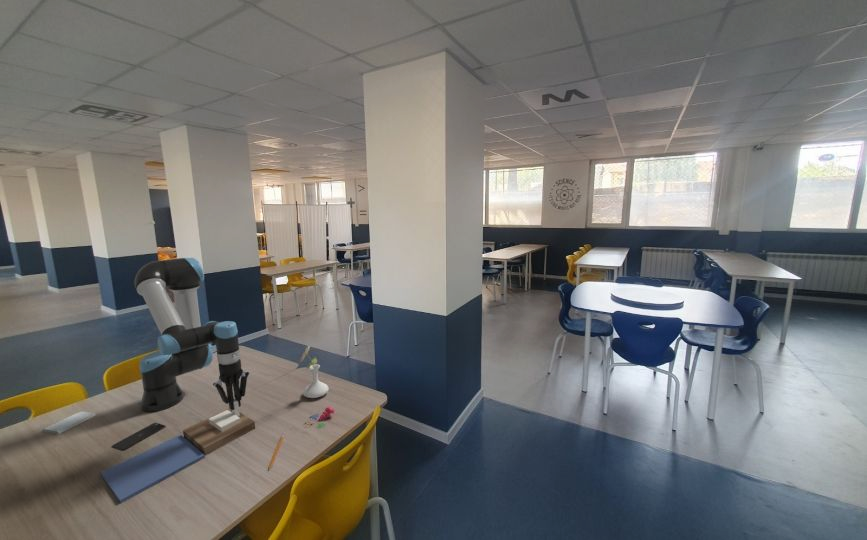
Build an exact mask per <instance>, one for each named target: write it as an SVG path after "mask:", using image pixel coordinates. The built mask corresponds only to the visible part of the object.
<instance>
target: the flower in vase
mask: <svg viewBox="0 0 867 540" xmlns="http://www.w3.org/2000/svg"><path fill="white" fill-rule="evenodd" d="M310 349H311V346H309V345H308V346H307V347H305V350H304V352H303V353H302V356H301V357H300V358H299V362H303V360H304V359H305V358H306V357H308V359H309V360H310V363H309V364H308V365H307V367H306V370H308V369H309V370H310V372H311V375H312V381H311V383H309V384H308V385H307V386H306V387H305V388H304V389H303V392H302V394H303V396H304V397H306V398H308V399H316V398H320V397H324V396H325V395H326V394H327V393H328V392H329V389H330V388H329V386H328V385H327V384H326V383H324V382H322V381H320V380H319V378H318V373H319V369H320V367H321V365H320V364H318V359H317V357H316V356H315V357H314V358H313V359H311V357H310V356H309V354H308V353H309V351H310Z"/></svg>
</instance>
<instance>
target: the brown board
mask: <svg viewBox="0 0 867 540" xmlns="http://www.w3.org/2000/svg"><path fill="white" fill-rule="evenodd" d="M226 410H228V411H230V412H232V410H230V409H229V408H227V409H225V410H223V411H221V412H218V413H217V414H215V415H213V416H216V415H218V414H220V413H222V412H224V411H226ZM239 413H240V416H238V417H240V420H241V423H239V424H237V425H235V426H233V427H231V428H229V429H227V430H225V431H223V432H221V431H220V430H218V429H217V428H215V427H214V426H212V425H211V424H210V423H209V418H211V417H213V416H210V417H208V418H206V419H204V420H201V421H200V422H197V423H196V424H193V425H191V426H189V427H187V428H184V429H183V430H182V434H183V435H182V436H183V437H184V438H185V439H187V440H188V441H189V442H190V443H191V444H192V445H194V446H195V447H196V448H197V449H198V450H199V451H201V452H202V453H203V454H204V455H205V456H207V455H209V454H211V453H212V452H214V451H216V450H218V449H220V448H222V447H224V446H226V445H227V444H229V443H231V442H233V441H235V440H237V439H238V438H240V437H242V436H245V434H248V433H250V432H251V431H253V430H255V429H256V423H255V422H256V421H255V420H253V419H251V418H250V417H249V416H246V415H245V414H243V413H241V411H239Z"/></svg>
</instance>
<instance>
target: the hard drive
mask: <svg viewBox="0 0 867 540" xmlns="http://www.w3.org/2000/svg"><path fill="white" fill-rule="evenodd" d="M94 416H96V413H94V412H89V411H83V410H82V411H78V412H76V413H74V414H72V415H70V416H68V417H65V418H63V419H61V420H59V421H57V422H55V423H54V424H51V425H49V426H47V427H45V428H43V429H42V432H44V433H48V434H49V433H50V434H55V435H59V434H61V433H63V432H65V431H68V430H69V429H71V428H74V427H75V426H77V425H79V424H81V423H83V422H85V421H87V420H88V419H91V418H93V417H94Z"/></svg>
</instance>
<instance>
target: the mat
mask: <svg viewBox="0 0 867 540" xmlns="http://www.w3.org/2000/svg"><path fill="white" fill-rule="evenodd" d="M205 458H206V455H204V454H203V453H202V452H201V451H199V450H198V449H197V448H196V447H195V446H194V445H192V444H191V443H190V442H189V441H188V440H187V439H185V438H184V435H182V434H179V435H177V436H175V437H173V438H171V439H168V440H166V441H164V442H162V443H160V444H158V445H156V446H153V447H151V448H149V449H148V450H145V451H143V452H140V453H139V454H136V455H135V456H132V457H130V458H128V459H125V460H124V461H122V462H119V463H118V464H117V463H116V465H112V466H111V467H108V468H107V469H105V470H102V471H101V472H100V474H101V476H102V478H103V479H104V481H105V483H107V485H108V487H109V488H110V489H111V491H112V493H113V494H114V495H115V496H116V497H115V498H116V499H117V500H118V501H119V503H120V504H122V503H124V502H126V501H127V500H129V499H130V500H131V499H132V498H134V497H135V496H137V495H139V494H140V493H143V492H144V491H146V490H148V489H150V488H151V487H154V486H155V485H157V484H159V483H161V482H162V481H165V480H166V479H168V478H170V477H171V476H173V475H176V474H178V473H179V472H181V471H183V470H184V469H187V468H189V467H190V466H192V465H193V464H195V463H198V462H199V461H202V460H204V459H205Z"/></svg>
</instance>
